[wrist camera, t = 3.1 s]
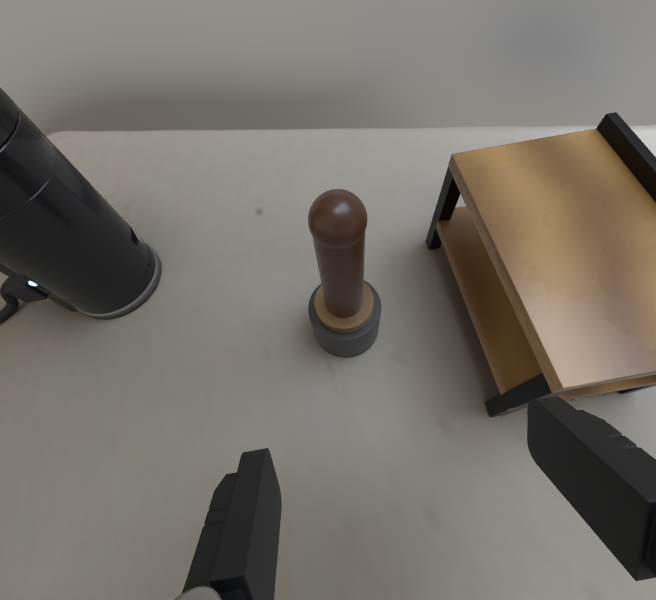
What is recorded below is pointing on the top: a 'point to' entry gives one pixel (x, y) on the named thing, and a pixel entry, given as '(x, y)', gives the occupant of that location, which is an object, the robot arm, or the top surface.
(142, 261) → the robot arm
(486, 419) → the top surface
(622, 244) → the tan black-edged stand
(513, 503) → the top surface
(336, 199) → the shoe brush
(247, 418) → the top surface
